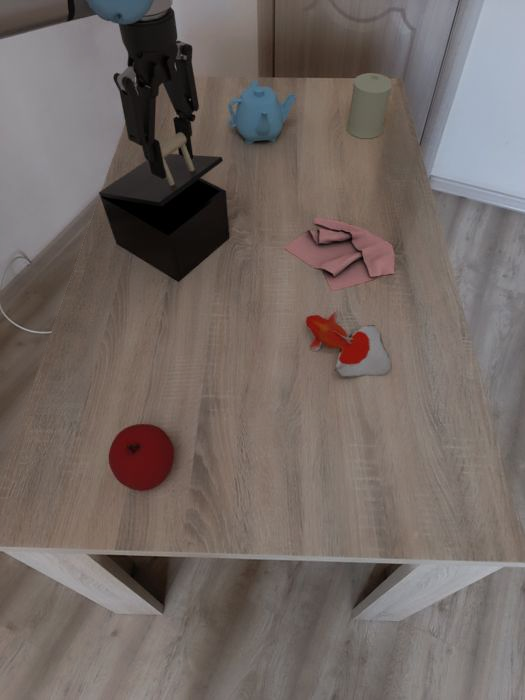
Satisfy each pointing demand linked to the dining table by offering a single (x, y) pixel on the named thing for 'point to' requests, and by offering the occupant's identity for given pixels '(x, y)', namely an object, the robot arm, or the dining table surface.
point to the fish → (351, 346)
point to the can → (369, 105)
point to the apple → (141, 456)
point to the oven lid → (153, 188)
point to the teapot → (259, 113)
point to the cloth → (344, 253)
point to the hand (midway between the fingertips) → (172, 165)
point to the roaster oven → (172, 228)
